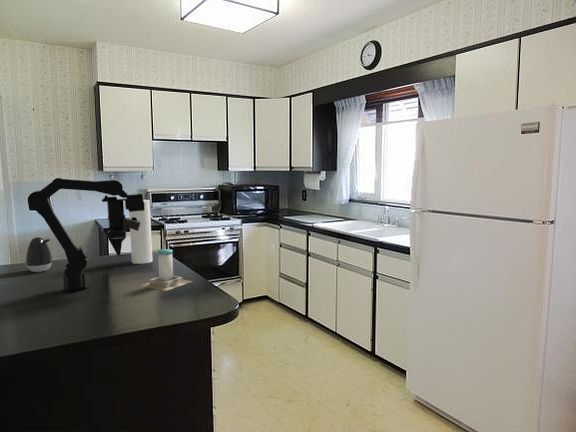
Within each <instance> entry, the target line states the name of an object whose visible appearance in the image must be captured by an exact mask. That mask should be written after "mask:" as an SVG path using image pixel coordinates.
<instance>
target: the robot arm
mask: <svg viewBox="0 0 576 432" xmlns="http://www.w3.org/2000/svg"><path fill="white" fill-rule="evenodd" d="M59 190H71V191H73V190H74V191H75V190H76V191H89V192H97V193H101V194H104V197H103V198H102V199H101V202H102V203H106V205H107V207H106V208H107V219H108V231H107V233H106V234H107V239H108V241H109V243H110V244H111V246H112V248H113V250H114V252H115V253H116V255H117V256H121V253H122V246H123V245H122V244H123V242H124V240H125V239H126V238H127V228H128V229H129V230H130V229H134V230H136V231H138V230H139V226H140V222H139V221H137V218H135V217H132V218H131V219H129V218H127V217H126V215H125V210H128V213H129V212H134V211H144V201H143V200H144V197H143V196H144V195H143V193H136V194H128V193H127V192H126V191H125V190H124V188H123V184H122V183H121V182H120V181H118V180H115V179H110V180H109V179H106V180H97V181H96V180H94V181H93V180H79V179H69V178H61V177H56V178H54V179H53V180H52V181H51V182H50V183H48V184H47V185H46V186H45V187H43V188H42V189H40V190H35V191H33V192H31V193H30V194H29V196H28V197H27V202H28V204H29V205H30V206H31V208H32V209H33V210H34V211H36V213H38V215H40V216H41V217H42V218H43V219H44V221H45V223H46V224H47V226H48V227H49V229H50V230H51V232H52V233H53V235H54V237H55V239H57V241H58V242H59V244H60V246H61V248H62V249H63V251H64V253H65V254H64V255H65V256H66V260H67V263H66V265H65V266H64V269H63V274H62V281H63V282H62V283H63V288H61V291H63V292H67V293H75V292H79V291H82V290H86V289H88V286H86V276H85V275H84V274H85V273H84V271H82V270H84V269H85V268H86V267H87V264H88V254H87V252H85V251H84V248H83V246H82V245H81V246H79V247H78V246H77V245H76V244H75V243H74V242H73V240H72V238H71V237H70V235H69V234H68V231H66V230H65V228H64V225H63V224H62V223H61V221H60V220H59V218H58V217H57V215H56V213H55V212H54V209H53V205H52V203H51V201H50V198H51V196H53V195H54V194H56V193H57V192H59ZM105 194H106V195H105ZM108 195H110V196H108ZM117 196H118V197H121V198H118V197H117ZM124 209H125V210H124Z"/></svg>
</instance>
